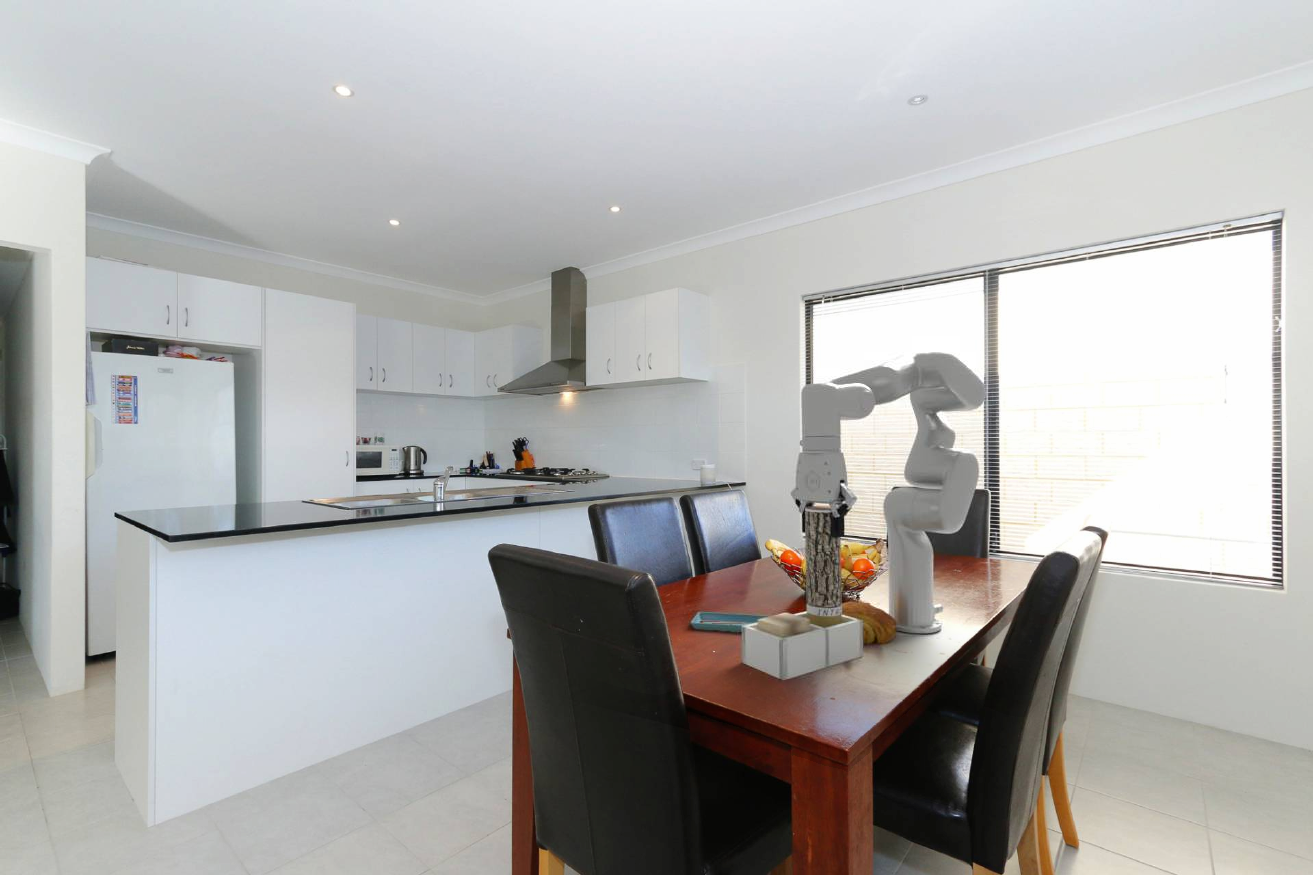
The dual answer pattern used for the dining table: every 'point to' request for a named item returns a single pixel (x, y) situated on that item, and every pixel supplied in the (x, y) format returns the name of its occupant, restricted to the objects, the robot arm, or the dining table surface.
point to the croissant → (871, 622)
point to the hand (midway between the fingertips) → (822, 533)
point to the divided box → (802, 648)
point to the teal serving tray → (723, 621)
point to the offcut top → (784, 625)
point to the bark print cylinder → (822, 568)
